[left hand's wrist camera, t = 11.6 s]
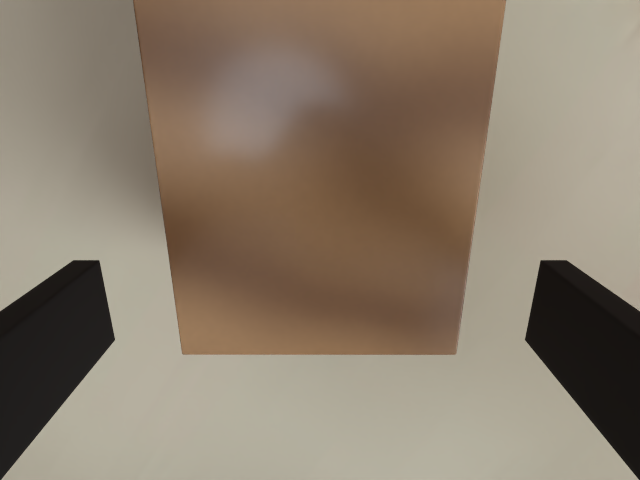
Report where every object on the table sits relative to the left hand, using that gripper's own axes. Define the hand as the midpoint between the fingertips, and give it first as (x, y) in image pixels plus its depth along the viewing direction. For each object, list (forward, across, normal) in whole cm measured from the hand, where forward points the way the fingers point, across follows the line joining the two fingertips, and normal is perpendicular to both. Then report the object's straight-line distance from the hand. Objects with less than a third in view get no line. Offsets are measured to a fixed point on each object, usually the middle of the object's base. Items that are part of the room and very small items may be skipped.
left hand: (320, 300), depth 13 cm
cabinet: (+12, 0, -6) cm, 13 cm away
